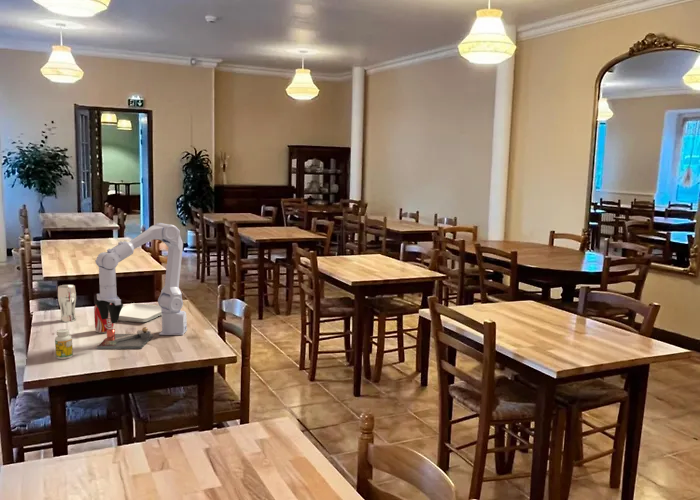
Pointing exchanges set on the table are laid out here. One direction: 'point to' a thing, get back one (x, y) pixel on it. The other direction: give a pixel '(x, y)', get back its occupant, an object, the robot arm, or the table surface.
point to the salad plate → (139, 312)
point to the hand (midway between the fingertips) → (109, 320)
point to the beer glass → (67, 302)
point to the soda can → (102, 322)
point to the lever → (112, 337)
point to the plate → (127, 341)
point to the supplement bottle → (63, 344)
